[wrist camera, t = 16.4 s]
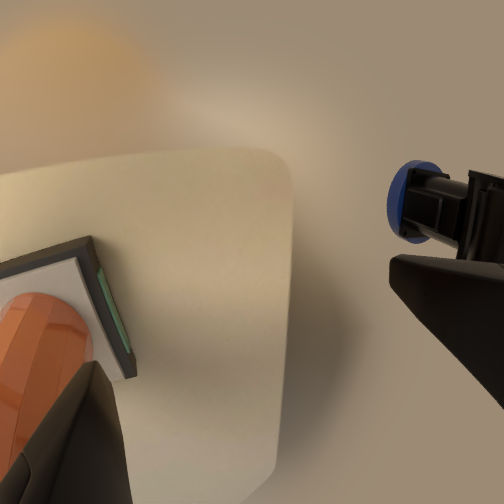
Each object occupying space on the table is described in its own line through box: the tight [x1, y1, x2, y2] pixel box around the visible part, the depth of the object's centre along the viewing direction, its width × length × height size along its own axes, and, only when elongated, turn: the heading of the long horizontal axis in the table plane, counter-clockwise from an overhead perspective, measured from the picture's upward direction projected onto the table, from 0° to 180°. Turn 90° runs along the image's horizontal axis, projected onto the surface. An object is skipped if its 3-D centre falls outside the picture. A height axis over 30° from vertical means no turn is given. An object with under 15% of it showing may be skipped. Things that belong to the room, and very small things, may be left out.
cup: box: [0, 292, 93, 482], centre depth 11 cm, size 7×7×13 cm
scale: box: [0, 235, 137, 382], centre depth 18 cm, size 10×10×3 cm
